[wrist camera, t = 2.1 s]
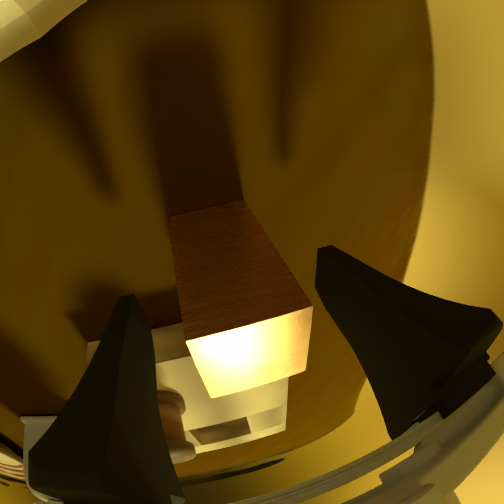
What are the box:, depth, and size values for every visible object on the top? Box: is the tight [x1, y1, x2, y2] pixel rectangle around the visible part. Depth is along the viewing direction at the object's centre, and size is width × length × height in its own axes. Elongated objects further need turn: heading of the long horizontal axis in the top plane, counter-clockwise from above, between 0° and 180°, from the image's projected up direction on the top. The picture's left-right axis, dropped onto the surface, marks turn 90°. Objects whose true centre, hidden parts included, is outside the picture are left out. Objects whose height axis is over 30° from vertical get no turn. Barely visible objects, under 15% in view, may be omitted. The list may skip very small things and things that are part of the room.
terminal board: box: [85, 323, 288, 464], centre depth 19 cm, size 12×18×6 cm, turn 4°
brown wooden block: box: [168, 200, 313, 399], centre depth 11 cm, size 4×4×7 cm
